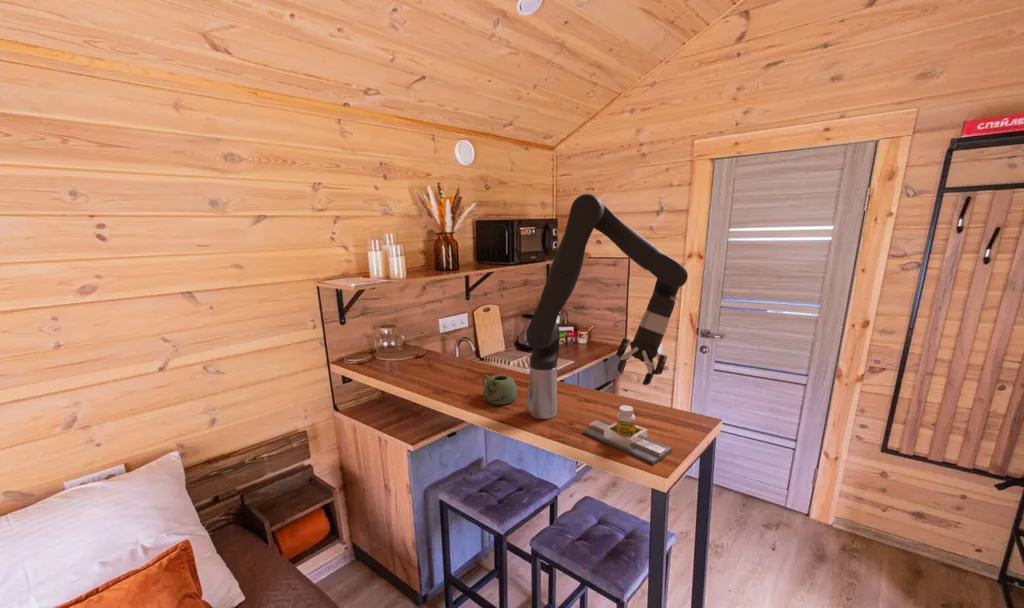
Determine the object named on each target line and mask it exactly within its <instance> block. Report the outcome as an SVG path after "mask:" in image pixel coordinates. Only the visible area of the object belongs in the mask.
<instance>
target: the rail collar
mask: <svg viewBox="0 0 1024 608" xmlns="http://www.w3.org/2000/svg"><path fill="white" fill-rule="evenodd" d="M582 434H584V435H587V436H588V437H591V438H593V439H595V440H598V441H600V442H602V443H605V444H606V445H609V446H611V447H613V448H615V449H618V450H619V451H622V452H625V453H626V454H629V455H631V456H634V457H635V458H637V459H640V460H642V461H644V462H647V463H648V464H651V465H655V464H656V463H658V462H659V461H660V460H662V459H663V458H664V457H666V456H668V454H670V453H671V452H672V450H673V449H672V447H671V446H668V445H666V444H663V443H660V442H658V441H657V440H656V441H655V440H653V439H651V438H648V428H644V427H642V426H640V425H637V424H635V434H634V435H633V436H631V437H627V436H624V435H622V434H620V433H617V421H616V422H614V423H611V422H608V421H606V420H604V419H601V420H597V419H596V420H594V421H592V422H590V423H589V425H588V426H587V427H586V428H584V429H582Z"/></svg>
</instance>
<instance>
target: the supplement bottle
mask: <svg viewBox="0 0 1024 608" xmlns="http://www.w3.org/2000/svg"><path fill="white" fill-rule="evenodd" d="M618 411H619V412H618V413H617V414H616V422H617V433H620V434H622V435H624V436H627V437H631V436H633V435H634V434H635V425H636V423H637V422H636V416H635V414H634V407H632V406H630V405H621V406H619V410H618Z"/></svg>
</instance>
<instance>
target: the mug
mask: <svg viewBox="0 0 1024 608" xmlns="http://www.w3.org/2000/svg"><path fill="white" fill-rule="evenodd" d="M482 386H483V392H482V393H483V398H484V400H485V401H486V402H488V403H489V404H492V405H496V406H498V405H500V406H501V405H507V404H511V403H513V402H514V401H515V400H516V399H517V397H518V386H517V383H516V382H515V380H514V379H513V378H512V376H510V375H508V374H507V375H506V374H495V375H491V376H489V375H487V374H484V375H483V376H482Z"/></svg>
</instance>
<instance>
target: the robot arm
mask: <svg viewBox="0 0 1024 608" xmlns="http://www.w3.org/2000/svg"><path fill="white" fill-rule="evenodd" d="M594 229H595V231H596V230H597V231H599V233H601V234H602V235H604V236H605V237H606V238H608V239H609V240H610V241H611V242H612V243H613V244H614V245H616V246H617V248H619V250H620V251H621V252H622V253H623V254H625V256H626V257H628V258H629V259H631V260H632V261H633V262H634V263H635V264H637V265H638V266H639V267H641V268H642V269H644V270H646V271H648V272H649V273H650V274H652V275H654V277H656V281H655V285H654V289H653V292H652V295H651V297H650V299H649V302H648V304H647V307H646V309H645V312H644V313H643V315H642V317H641V319H640V322H639V325H638V328H637V330H636V332H635V334H634V338H633V340H630V338H627V337H623V338H622V340H621V342H620V343H619V344H620V345H619V347H618V348H617V351H616V356H617V357H618V358H619V362H618V365H617V372H618V373H621V374H622V373H624V371H625V368H626V365H627V363H628V360H630V359H631V358H634V359H636V360H639V361H640V362H644V364H645V366H646V368H647V372H646V375H644V376H645V377H644V378H643V382H642V385H644V386H648V385H650V384H651V382H652V380H653V378H654V375H656V376H657V375H659V376H660V375H662V374H663V371H664V367H665V365H666V362H667V359H668V356H667V355H666V354H661V353H659V348H660V346H661V344H662V341H663V338H664V336H665V334H666V332H667V329H668V325H669V321H670V318H671V316H672V313H673V311H674V308H675V305H676V297H677V294H678V291H679V289H680V287H683V286H684V285H685V284H686V283H687V281H688V277H689V275H688V272H687V269H686V268H685V267H684V266H683V265H682V263H681V264H680V263H679V261H676V260H675V259H674V258H673V257H670V256H669V255H668V254H665V253H664V252H662V251H661V250H660V249H659V248H658V247H656V245H654V244H653V243H652V242H651V241H649V240H648V239H646V238H645V237H644V236H642V235H641V234H639V233H638V232H637V231H635V230H634V229H632V228H631V227H630V226H628V225H627V224H625V223H624V222H623V221H622V220H621V219H620V218H618V217H617V216H616V215H615V214H614V213H613V212H612V210H610V209H609V208H608V206H607V205H606V204H605V203H604V202H603V200H602V199H601V198H600V197H599V196H597V195H595V194H592V193H586V194H585V193H584V194H582V195H579V196H578V197H576V199H574V200H573V202H572V204H571V206H570V211H569V215H568V219H567V222H566V227H565V230H564V234H563V236H562V239H561V242H560V244H559V246H558V249H557V251H556V253H555V255H554V258H553V261H552V263H551V266H550V269H549V272H548V273H547V277H546V281H545V284H544V286H543V289H542V293H541V295H540V299H539V302H538V304H537V308H536V309H535V312H534V314H533V316H532V318H531V320H530V322H529V324H528V327H527V328H526V332H525V337H526V338H525V339H526V341H527V344H528V346H529V347H531V348H532V353H531V355H530V358H529V385H527V412H528V413H529V414H530V416H531V417H533V418H535V419H540V420H549V419H552V418H555V417H556V416H557V413H558V412H557V411H558V407H557V405H558V397H557V396H558V360H559V356H560V344H561V343H560V342H561V340H560V338H561V337H560V336H561V335H560V328H559V325H558V322H557V319H558V318H559V315H560V312H561V310H563V308H564V306H565V304H566V303H567V302H568V300H569V299H570V297H571V296H572V294H573V291H574V289H575V287H576V286H577V282H578V280H579V277H580V274H581V272H582V271H581V270H582V267H583V263H584V260H585V259H584V258H585V254H586V253H585V252H586V248H587V244H588V241H589V239H590V237H591V235H592V232H593V230H594ZM629 346H630V348H631V349H630V350H629V351H627V352H626V349H627V348H628V347H629ZM655 358H656V360H657V363H656V366H655V362H654V359H655Z"/></svg>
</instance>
